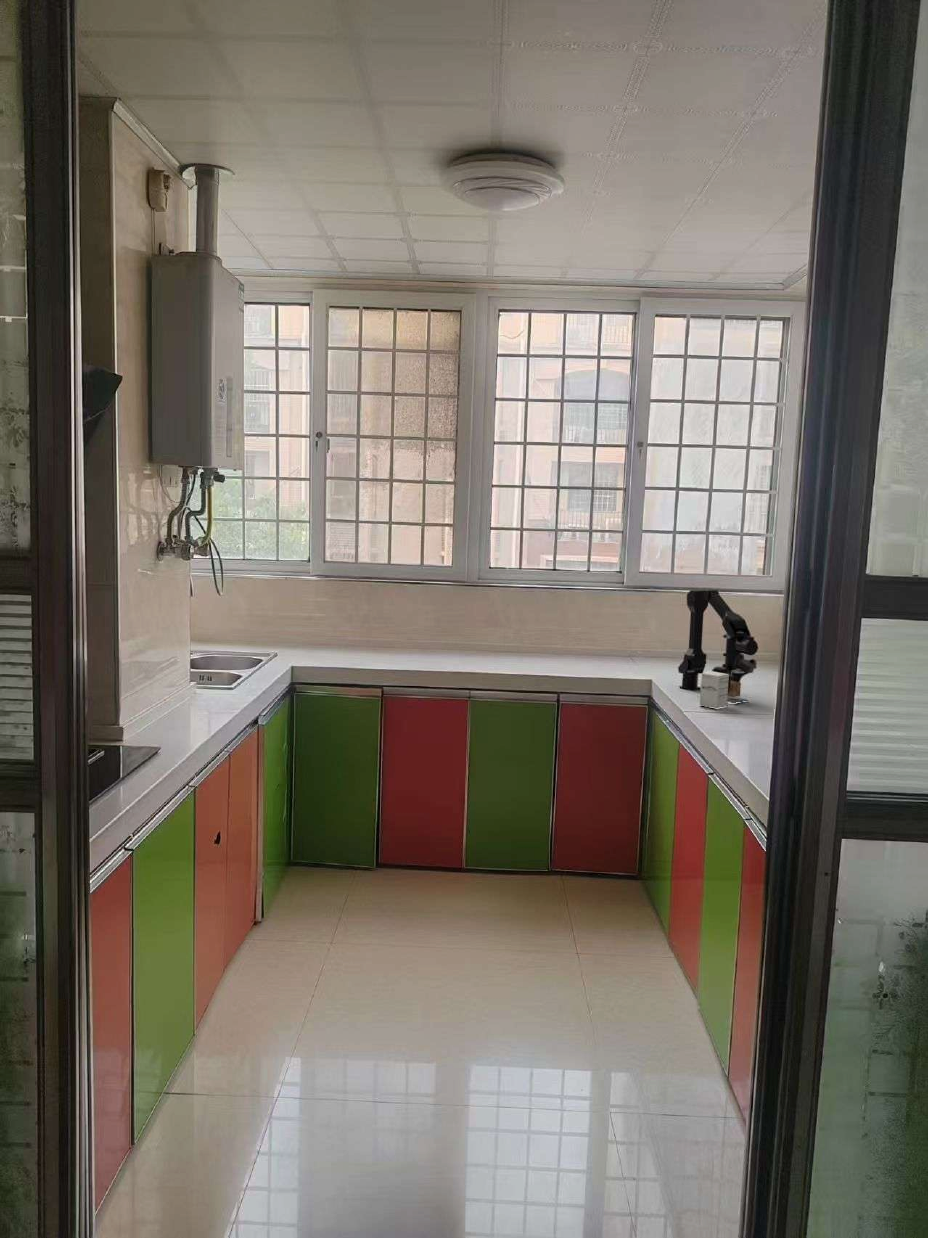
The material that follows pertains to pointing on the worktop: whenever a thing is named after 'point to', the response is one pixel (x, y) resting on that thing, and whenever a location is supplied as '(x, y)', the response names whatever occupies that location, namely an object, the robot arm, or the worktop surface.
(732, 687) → the walnut block
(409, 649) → the worktop surface
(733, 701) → the slate mat
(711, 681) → the supplement box
